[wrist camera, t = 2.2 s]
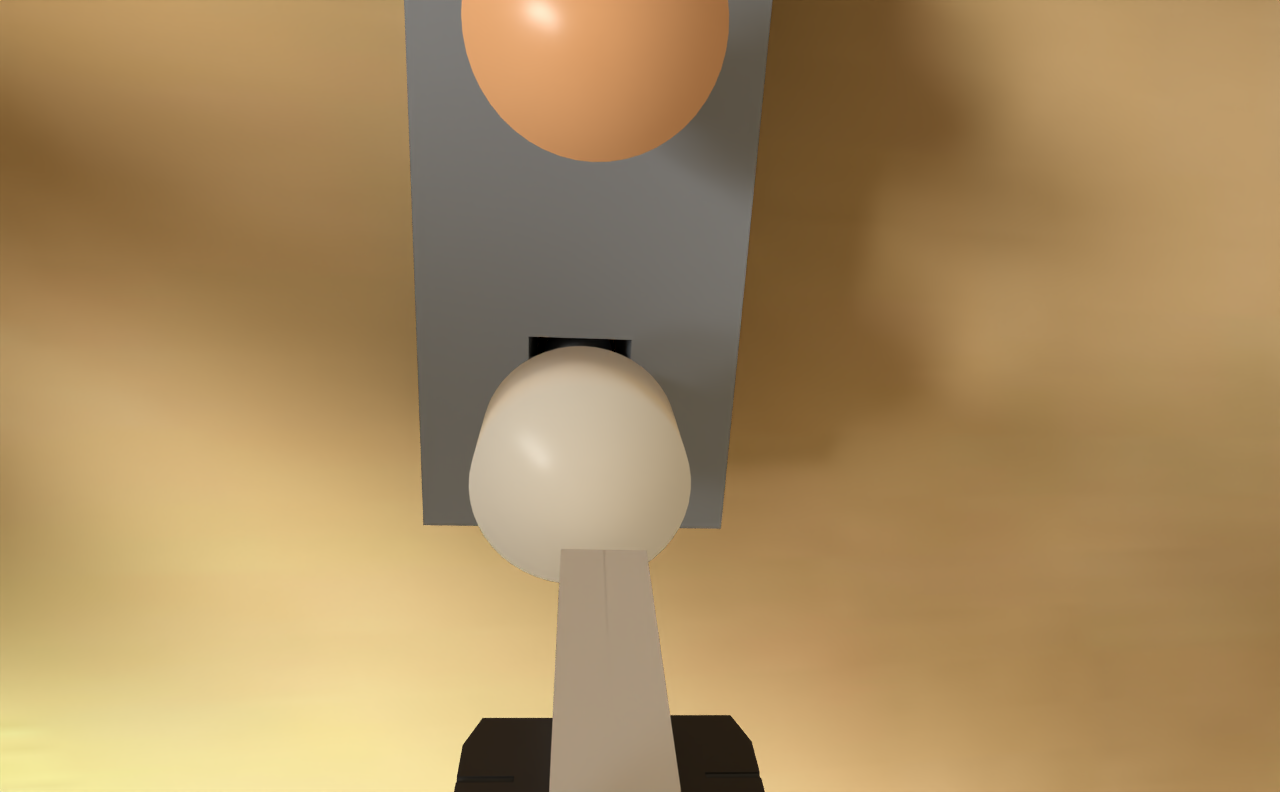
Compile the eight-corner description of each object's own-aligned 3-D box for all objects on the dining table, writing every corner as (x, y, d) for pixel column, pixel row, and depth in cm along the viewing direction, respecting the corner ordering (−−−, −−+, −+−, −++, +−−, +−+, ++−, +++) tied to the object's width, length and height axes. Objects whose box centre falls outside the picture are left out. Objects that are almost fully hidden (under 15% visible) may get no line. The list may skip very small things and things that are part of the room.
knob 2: (505, 419, 30) (470, 583, 20) (504, 278, 29) (467, 380, 18) (646, 422, 31) (682, 585, 21) (654, 284, 29) (699, 386, 19)
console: (455, 433, 35) (423, 525, 28) (444, -108, 28) (397, -182, 21) (694, 438, 36) (726, 528, 28) (737, -85, 29) (794, -148, 22)
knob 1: (505, 133, 27) (463, 154, 17) (505, -45, 25) (458, -143, 15) (663, 142, 28) (717, 168, 17) (674, -32, 26) (741, -119, 15)
